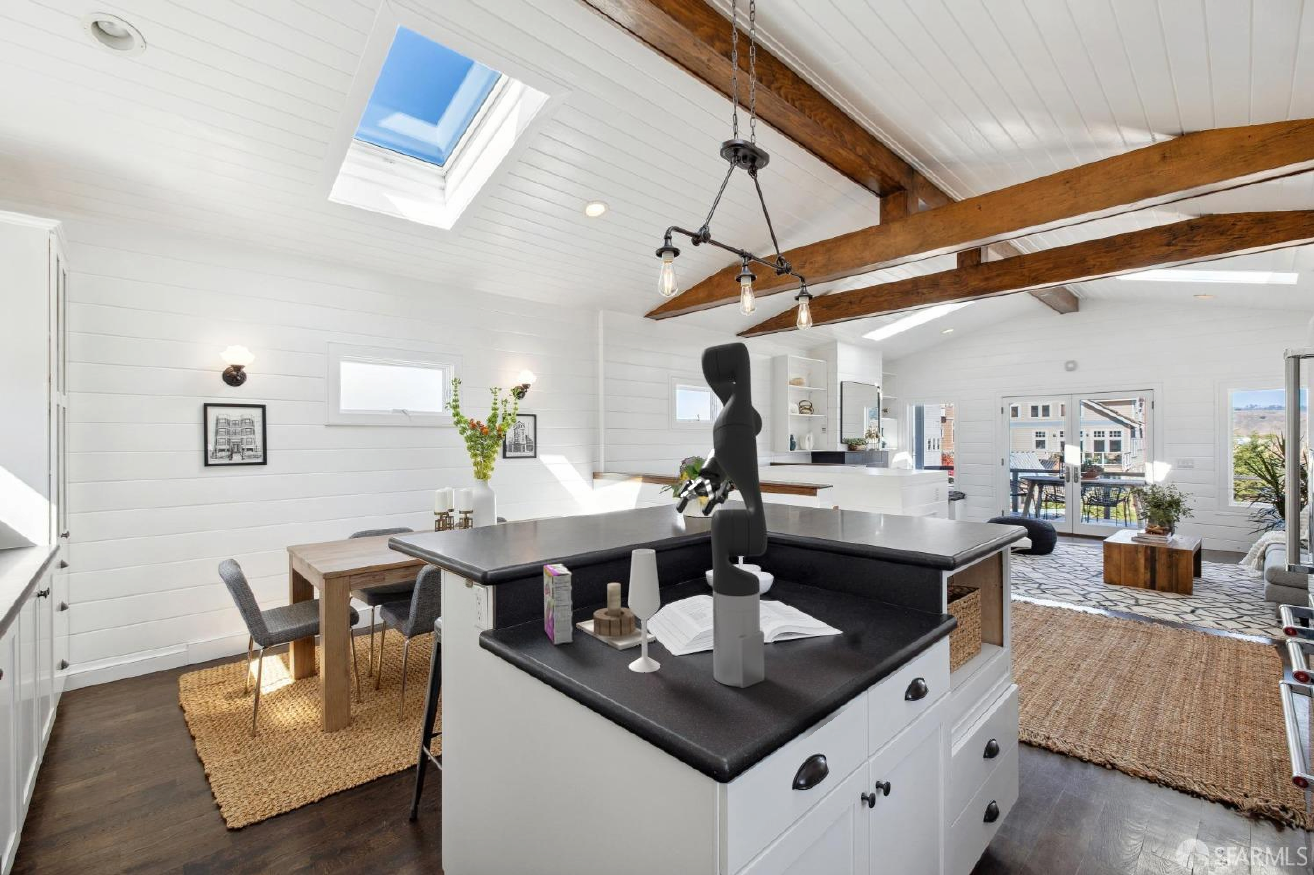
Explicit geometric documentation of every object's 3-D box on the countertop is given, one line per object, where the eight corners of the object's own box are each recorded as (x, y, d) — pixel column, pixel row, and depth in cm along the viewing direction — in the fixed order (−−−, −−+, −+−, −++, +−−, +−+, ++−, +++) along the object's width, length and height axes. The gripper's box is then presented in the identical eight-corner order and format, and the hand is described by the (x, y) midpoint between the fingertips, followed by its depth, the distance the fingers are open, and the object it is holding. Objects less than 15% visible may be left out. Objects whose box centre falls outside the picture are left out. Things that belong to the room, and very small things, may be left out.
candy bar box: (543, 631, 145) (542, 564, 145) (563, 628, 147) (562, 563, 147) (552, 645, 134) (551, 574, 134) (573, 642, 136) (573, 572, 136)
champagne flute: (666, 663, 123) (665, 549, 123) (649, 675, 117) (648, 555, 117) (640, 657, 126) (639, 547, 126) (622, 668, 121) (621, 552, 121)
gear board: (655, 640, 137) (655, 619, 137) (619, 649, 131) (619, 627, 131) (609, 619, 153) (609, 600, 153) (576, 627, 147) (576, 607, 147)
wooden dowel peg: (623, 629, 142) (623, 584, 142) (612, 632, 140) (611, 586, 140) (616, 626, 144) (615, 582, 144) (605, 629, 143) (604, 584, 143)
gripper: (691, 455, 159) (663, 501, 151) (734, 456, 149) (706, 505, 141) (703, 474, 163) (677, 519, 154) (746, 476, 153) (720, 524, 145)
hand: (691, 512), depth 148 cm, fingers open, 8 cm apart
